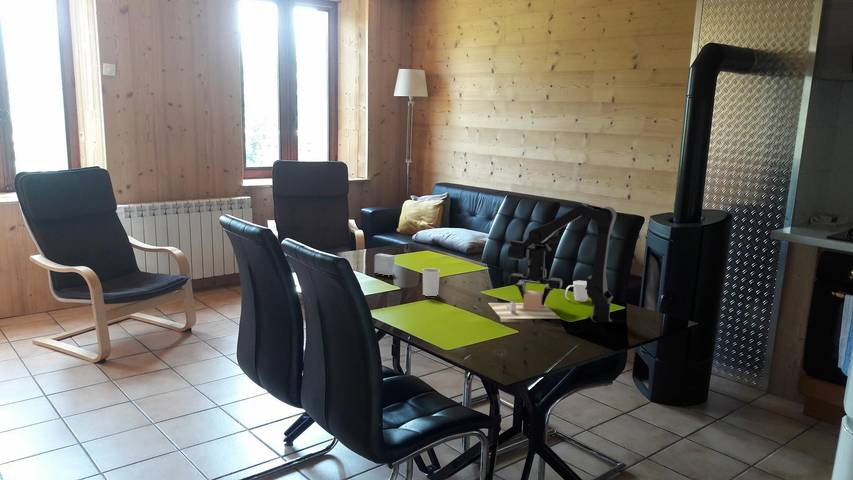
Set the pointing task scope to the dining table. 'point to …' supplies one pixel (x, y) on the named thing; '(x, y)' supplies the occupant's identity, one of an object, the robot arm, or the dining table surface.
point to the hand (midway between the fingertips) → (533, 303)
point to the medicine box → (384, 264)
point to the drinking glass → (430, 281)
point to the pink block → (533, 300)
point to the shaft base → (520, 312)
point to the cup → (578, 291)
